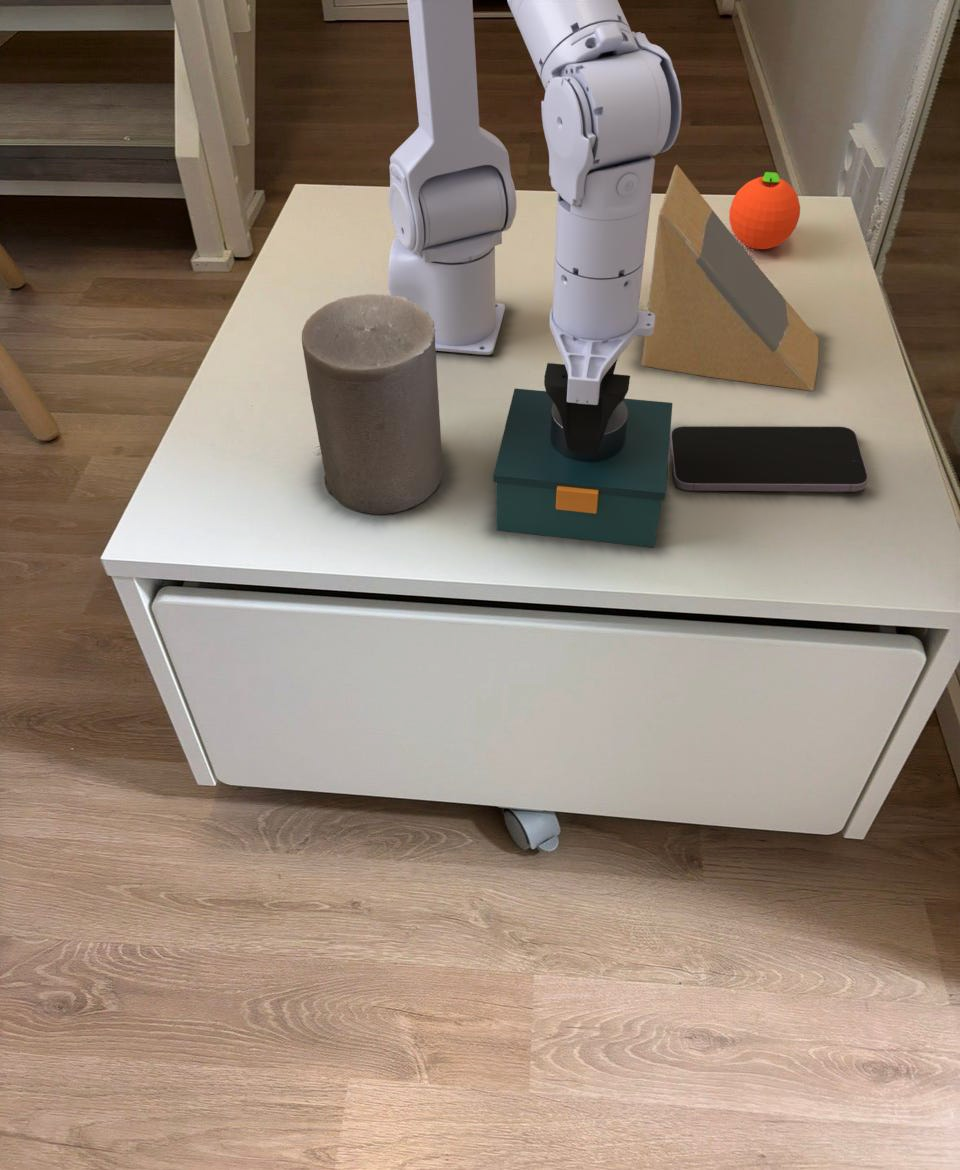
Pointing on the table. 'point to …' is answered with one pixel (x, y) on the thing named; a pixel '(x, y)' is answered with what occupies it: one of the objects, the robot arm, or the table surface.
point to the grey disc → (610, 441)
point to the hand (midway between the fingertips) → (587, 423)
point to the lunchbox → (582, 476)
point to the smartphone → (767, 458)
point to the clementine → (764, 212)
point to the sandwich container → (719, 303)
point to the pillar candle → (375, 401)
